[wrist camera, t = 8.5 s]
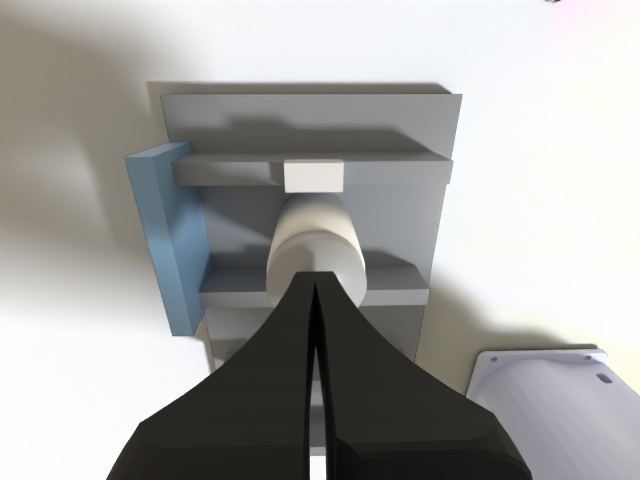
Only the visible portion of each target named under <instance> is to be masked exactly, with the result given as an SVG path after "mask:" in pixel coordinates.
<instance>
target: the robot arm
mask: <svg viewBox="0 0 640 480" xmlns="http://www.w3.org/2000/svg"><path fill="white" fill-rule="evenodd" d="M315 348H316V351H317V359H318V367H319V375H320V383H321V392H322V400H323V409H324V422H325V451H326V480H640V396H639V395H638V394H637V393H636V392H635V391H634V390H633V389H631V388H630V387H629V386H628V385H627V384H626V383H625V382H624V381H623V380H622V379H621V378H619V377H618V376H617V375H616V374H615V373H614V372H613V371H612V370H611V369H610V368H609V367H608V366H606V365H605V364H604V363H605V361H606V359H607V357H608V354H607V353H606V352H605V351H604V350H602V349H577V350H526V351H484V352H481V353H480V354H479V355H478V358H477V361H476V364H475V368H474V371H473V374H472V378H471V381H470V385H469V388H468V391H467V395H466V397H465V396H463V395H461V394H460V393H458V392H456V391H454V390H453V389H451V388H450V387H448V386H446V385H445V384H443V383H442V382H441V381H439V380H438V379H436V378H435V377H433V376H432V375H430V374H429V373H427V372H426V371H424V370H423V369H422V368H420V367H419V366H418V365H416V364H415V363H414V362H412V361H411V360H410V359H409V358H407V357H406V356H405V355H403V354H402V353H401V352H400V351H398V350H397V349H396V348H395V347H394V346H393V345H392V344H391V343H389V342H388V341H387V340H386V339H385V338H384V337H383V336H382V335H381V334H380V333H379V332H378V331H377V330H376V329H375V328H374V327H373V326H372V324H371V323H370V322H369V321H368V320H367V319H366V318H365V316H364V315H363V314H362V313H361V312H360V310H359V309H358V308H357V307H356V305H355V304H354V303H353V301H352V300H351V299H350V297H349V296H348V294H347V293H346V291H345V290H344V288H343V287H342V285H341V283H340V282H339V280H338V278H337V276H336V274H335V273H334V272H333V271H304V272H296V273H295V274H294V276H293V279H292V281H291V283H290V285H289V287H288V288H287V290H286V292H285V293H284V295H283V297H282V298H281V300H280V301H279V303H278V304H277V306H276V307H275V309H274V310H273V311H272V312H271V314H270V315H269V316H268V318H267V319H266V320H265V322H264V323H263V324H262V325H261V327H260V328H259V329H258V330H257V331H256V332H255V333H254V335H253V336H252V337H251V338H250V339H249V340H248V341H247V342H246V343H245V344H244V345H243V346H242V347H241V348H240V349H239V350H238V351H237V352H236V353H235V354H234V355H233V356H232V357H230V358H229V359H228V360H227V361H226V362H225V363H224V364H223V365H222V366H220V367H219V368H218V369H217V370H216V371H214V372H213V373H212V374H210V375H209V376H208V377H207V378H205V379H204V380H203V381H202V382H200V383H199V384H198V385H196V386H195V387H194V388H192V389H191V390H190V391H188V392H187V393H185V394H184V395H182V396H181V397H179V398H178V399H176V400H175V401H173V402H172V403H170V404H169V405H167V406H166V407H164V408H162V409H161V410H159V411H158V412H156V413H155V414H153V415H152V416H150V417H149V418H147V419H145V420H144V421H142V422H140V423H139V425H138V427H137V428H136V430H135V432H134V433H133V435H132V436H131V438H130V439H129V440H128V442H127V443H126V445H125V446H124V448H123V450H122V452H121V453H120V455H119V457H118V458H117V460H116V462H115V464H114V466H113V467H112V469H111V471H110V473H109V475H108V477H107V479H106V480H310V405H311V394H312V382H313V371H314V359H315Z"/></svg>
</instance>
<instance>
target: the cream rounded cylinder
mask: <svg viewBox="0 0 640 480" xmlns="http://www.w3.org/2000/svg"><path fill="white" fill-rule="evenodd" d="M304 271H333V272H334V273H335V274H336V276H337V278H338V280H339V282H340V283H341V285H342V287H343V288H344V290H345V291H346V293H347V294H348V296H349V297H350V299H351V300H352V301H353V303H354V304H355V305H356V307H357V308H358V307H359V305H360V304H361V302H362V300H363V298H364V296H365V293H366V288H367V278H366V273H365V262H364V258H363V255H362V252H361V249H360V246H359V243H358V239H357V236H356V233H355V230H354V227H353V224H352V221H351V217H350V214H349V211H348V209H347V207H346V205H345V204H344V202H343V201H342V200H341V199H340V198H339V197H338V196H336V195H335V194H333V193H331V192H298V193H296V194H294V195H293V196H291V197H290V198H289V199H288V200H287V201H286V202H285V203H284V205H283V206H282V208H281V210H280V213H279V216H278V220H277V225H276V229H275V233H274V237H273V241H272V245H271V249H270V254H269V258H268V262H267V278H266V291H267V295H268V298H269V300H270V302H271V304H272V305H273V307H274V308H275V307H276V306H277V304H278V303H279V301H280V300H281V298H282V297H283V295H284V293H285V292H286V290H287V288H288V287H289V285H290V283H291V281H292V279H293V276H294V274H295V273H296V272H304Z"/></svg>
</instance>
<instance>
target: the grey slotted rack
mask: <svg viewBox="0 0 640 480" xmlns="http://www.w3.org/2000/svg"><path fill="white" fill-rule="evenodd" d="M462 95H463V94H160V98H161V103H162V107H163V112H164V117H165V122H166V127H167V132H168V137H169V142H168V143H165V144H162V145H159V146H156V147H153V148H150V149H147V150H144V151H141V152H138V153H135V154H132V155H129V156H126V157H124V159H125V162H126V166H127V170H128V173H129V177H130V181H131V185H132V188H133V192H134V196H135V199H136V203H137V207H138V211H139V214H140V218H141V222H142V225H143V229H144V233H145V236H146V240H147V244H148V248H149V251H150V255H151V259H152V262H153V266H154V270H155V274H156V277H157V281H158V285H159V288H160V292H161V296H162V299H163V303H164V307H165V311H166V314H167V318H168V322H169V325H170V329H171V333H172V336H193V335H194V333H195V331H196V329H197V327H198V325H199V323H200V321H201V319H202V317H203V315H204V314H205V319H206V324H207V329H208V334H209V339H210V344H211V349H212V354H213V358H214V363H215V368H216V370H217V369H218V368H219V367H220V366H222V365H223V364H224V363H225V362H226V361H227V360H228V359H229V358H230V357H232V356H233V355H234V354H235V353H236V352H237V351H238V350H239V349H240V348H241V347H242V346H243V345H244V344H245V343H246V342H247V341H248V340H249V339H250V338H251V337H252V336H253V335H254V333H255V332H256V331H257V330H258V329H259V328H260V327H261V325H262V324H263V323H264V322H265V320H266V319H267V318H268V316H269V315H270V314H271V312H272V311H273V310H274V309H275V308H274V307H273V305H272V304H271V302H270V300H269V298H268V295H267V291H266V278H267V262H268V258H269V254H270V249H271V245H272V241H273V237H274V233H275V229H276V225H277V220H278V216H279V213H280V210H281V208H282V206H283V205H284V203H285V202H286V201H287V200H288V199H289V198H290V197H291V196H293V195H294V194H296V193H298V192H331V193H333V194H335V195H336V196H338V197H339V198H340V199H341V200H342V201H343V202H344V204H345V205H346V207H347V209H348V211H349V214H350V217H351V221H352V224H353V227H354V230H355V233H356V236H357V239H358V243H359V246H360V249H361V252H362V255H363V258H364V262H365V273H366V278H367V288H366V293H365V296H364V298H363V300H362V302H361V304H360V305H359V307H358V309H359V310H360V312H361V313H362V314H363V315H364V316H365V318H366V319H367V320H368V321H369V322H370V323H371V324H372V326H373V327H374V328H375V329H376V330H377V331H378V332H379V333H380V334H381V335H382V336H383V337H384V338H385V339H386V340H387V341H388V342H389V343H391V344H392V345H393V346H394V347H395V348H396V349H397V350H398V351H400V352H401V353H402V354H403V355H405V356H406V357H407V358H409V359H410V360H411V361H412V362H415V356H416V351H417V345H418V339H419V334H420V328H421V323H422V317H423V312H424V306H425V305H427V302H428V297H429V292H430V289H429V287H428V284H429V278H430V273H431V267H432V262H433V256H434V251H435V245H436V239H437V234H438V228H439V223H440V217H441V212H442V206H443V201H444V195H445V189H446V184H449V183H450V177H451V172H452V167H453V161H452V160H451V156H452V151H453V145H454V139H455V134H456V128H457V123H458V117H459V112H460V106H461V101H462ZM310 456H326V451H325V422H324V409H323V400H322V392H321V383H320V375H319V367H318V359H317V351H316V348H315V359H314V371H313V382H312V394H311V405H310Z"/></svg>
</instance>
